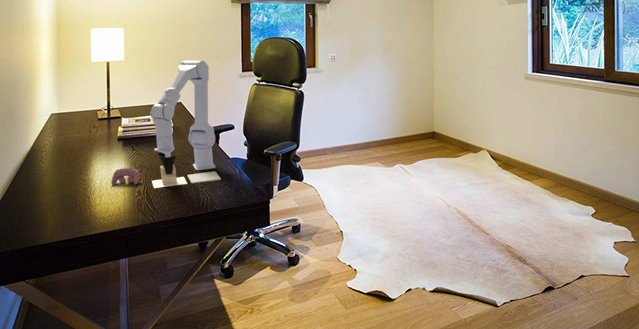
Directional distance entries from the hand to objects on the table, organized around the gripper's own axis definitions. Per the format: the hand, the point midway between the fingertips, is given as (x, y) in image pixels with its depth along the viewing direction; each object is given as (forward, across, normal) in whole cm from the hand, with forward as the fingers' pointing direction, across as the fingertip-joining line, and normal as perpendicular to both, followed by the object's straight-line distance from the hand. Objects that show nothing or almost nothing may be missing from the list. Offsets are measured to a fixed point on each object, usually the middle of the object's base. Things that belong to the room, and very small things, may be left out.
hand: (168, 171), depth 189 cm
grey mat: (+4, 0, +13) cm, 14 cm away
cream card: (+4, 0, 0) cm, 4 cm away
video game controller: (+5, -7, -15) cm, 17 cm away
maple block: (+4, 0, 0) cm, 4 cm away
